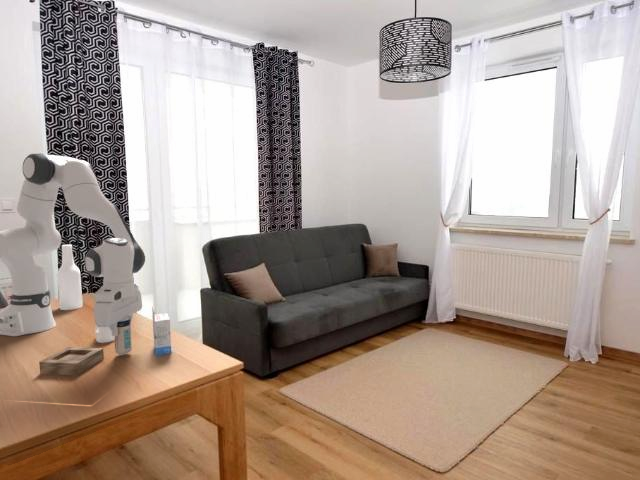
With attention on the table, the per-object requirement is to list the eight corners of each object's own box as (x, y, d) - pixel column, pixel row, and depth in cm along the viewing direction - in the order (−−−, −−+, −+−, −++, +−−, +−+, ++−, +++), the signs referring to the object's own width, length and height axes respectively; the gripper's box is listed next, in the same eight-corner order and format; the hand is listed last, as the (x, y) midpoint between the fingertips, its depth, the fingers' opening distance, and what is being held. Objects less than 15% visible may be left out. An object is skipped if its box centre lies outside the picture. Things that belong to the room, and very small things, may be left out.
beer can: (118, 349, 139) (116, 313, 138) (133, 349, 140) (132, 313, 138) (112, 355, 134) (110, 318, 133) (128, 354, 135) (126, 318, 133)
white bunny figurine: (97, 347, 146) (95, 312, 145) (94, 340, 153) (92, 307, 152) (117, 343, 150) (115, 309, 148) (114, 336, 157) (111, 304, 155)
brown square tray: (40, 375, 125) (39, 361, 124) (69, 359, 136) (68, 347, 136) (78, 377, 123) (77, 363, 123) (104, 361, 135) (103, 348, 134)
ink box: (172, 354, 139) (170, 310, 137) (156, 356, 137) (153, 312, 135) (169, 345, 147) (167, 304, 145) (153, 348, 145) (151, 306, 143)
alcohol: (67, 315, 185) (61, 246, 182) (56, 312, 190) (50, 245, 187) (87, 310, 193) (82, 244, 189) (76, 307, 197) (71, 243, 194)
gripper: (128, 282, 145) (130, 321, 147) (88, 297, 125) (91, 342, 127) (146, 282, 144) (147, 322, 146) (108, 298, 124) (111, 343, 126)
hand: (121, 332), depth 136 cm, fingers closed on beer can, 5 cm apart
